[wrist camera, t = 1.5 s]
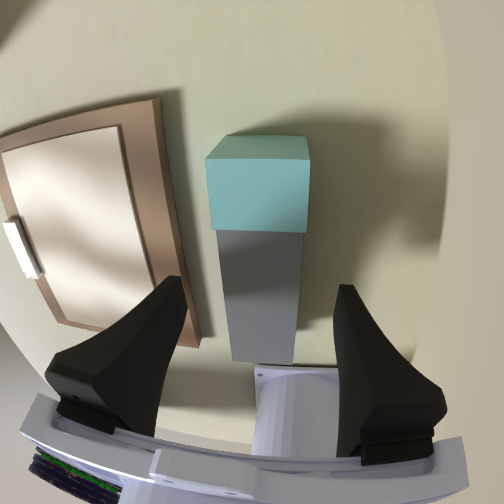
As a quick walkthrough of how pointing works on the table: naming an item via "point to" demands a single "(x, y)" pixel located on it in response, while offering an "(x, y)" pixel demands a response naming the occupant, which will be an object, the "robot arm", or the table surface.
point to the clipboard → (95, 213)
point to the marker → (260, 239)
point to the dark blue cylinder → (74, 479)
